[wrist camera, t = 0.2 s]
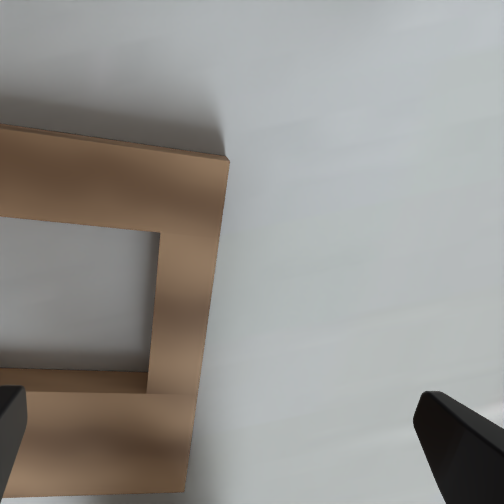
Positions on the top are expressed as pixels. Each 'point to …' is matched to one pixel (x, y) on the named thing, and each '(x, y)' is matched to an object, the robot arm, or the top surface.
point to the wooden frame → (164, 317)
